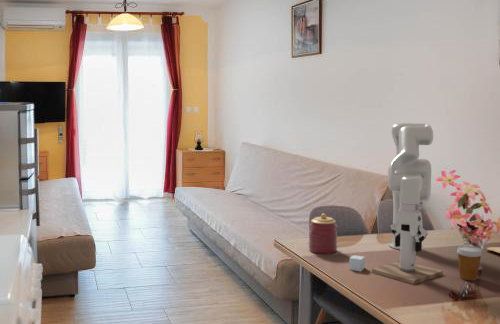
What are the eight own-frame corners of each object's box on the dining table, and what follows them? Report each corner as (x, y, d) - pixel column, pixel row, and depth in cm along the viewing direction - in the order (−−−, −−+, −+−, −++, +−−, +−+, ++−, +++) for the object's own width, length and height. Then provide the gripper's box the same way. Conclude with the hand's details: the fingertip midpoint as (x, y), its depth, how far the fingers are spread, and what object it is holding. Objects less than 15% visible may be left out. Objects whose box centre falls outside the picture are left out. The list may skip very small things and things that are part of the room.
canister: (324, 256, 267) (324, 217, 265) (303, 250, 277) (303, 213, 275) (342, 251, 276) (343, 213, 274) (321, 245, 286) (322, 209, 284)
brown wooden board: (401, 263, 256) (401, 260, 256) (442, 274, 241) (442, 270, 240) (371, 272, 243) (372, 268, 243) (413, 284, 228) (413, 280, 228)
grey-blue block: (353, 266, 251) (353, 255, 251) (364, 268, 249) (365, 256, 248) (349, 269, 247) (349, 257, 247) (360, 271, 245) (360, 259, 244)
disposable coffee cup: (478, 283, 230) (479, 253, 228) (453, 279, 235) (454, 249, 233) (483, 276, 238) (484, 247, 236) (458, 273, 243) (460, 244, 241)
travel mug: (416, 272, 238) (418, 223, 236) (399, 271, 239) (401, 223, 237) (415, 268, 244) (417, 220, 242) (399, 267, 245) (400, 219, 243)
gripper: (433, 209, 235) (431, 251, 237) (397, 203, 248) (396, 243, 250) (422, 211, 230) (420, 254, 232) (386, 205, 243) (384, 246, 245)
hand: (407, 248), depth 241 cm, fingers open, 9 cm apart
